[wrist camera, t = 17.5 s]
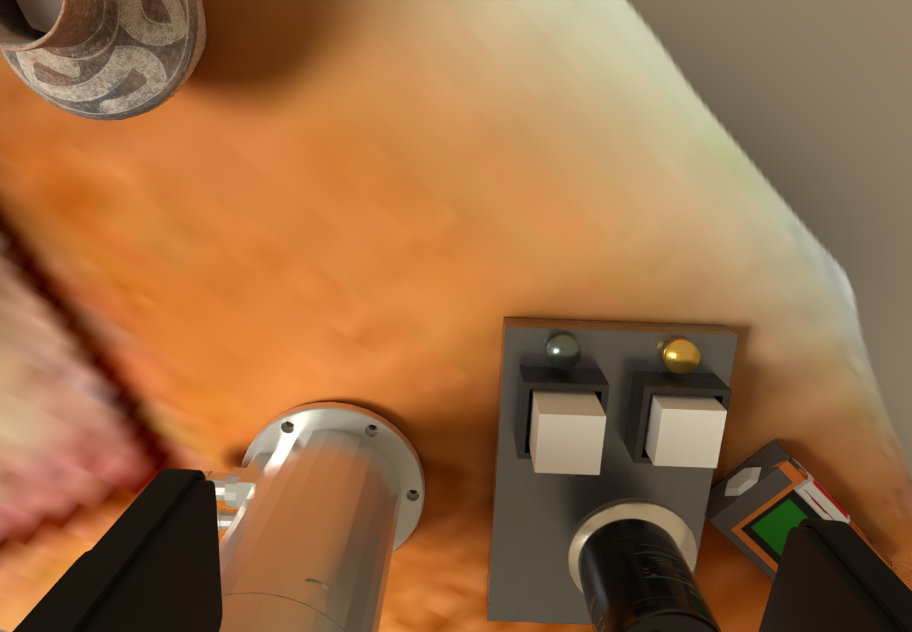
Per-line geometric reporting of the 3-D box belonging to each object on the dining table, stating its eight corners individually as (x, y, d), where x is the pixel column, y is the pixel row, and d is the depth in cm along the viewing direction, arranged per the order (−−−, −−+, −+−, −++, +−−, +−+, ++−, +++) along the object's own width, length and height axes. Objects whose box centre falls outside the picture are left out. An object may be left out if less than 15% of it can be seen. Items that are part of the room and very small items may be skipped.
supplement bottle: (632, 614, 42) (695, 797, 31) (555, 566, 41) (590, 737, 29) (699, 548, 40) (791, 715, 29) (620, 496, 39) (684, 648, 28)
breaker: (528, 441, 37) (534, 472, 33) (532, 387, 36) (539, 414, 32) (587, 443, 37) (599, 475, 33) (593, 389, 36) (606, 416, 32)
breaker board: (486, 599, 45) (488, 648, 40) (503, 317, 38) (508, 340, 34) (675, 607, 45) (696, 656, 40) (724, 325, 38) (756, 349, 34)
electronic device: (836, 642, 43) (707, 521, 39) (812, 609, 46) (690, 494, 42) (919, 587, 41) (793, 456, 38) (889, 557, 44) (769, 432, 40)
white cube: (637, 436, 38) (653, 465, 35) (644, 383, 37) (662, 408, 34) (694, 438, 38) (716, 467, 35) (703, 385, 37) (727, 411, 33)
